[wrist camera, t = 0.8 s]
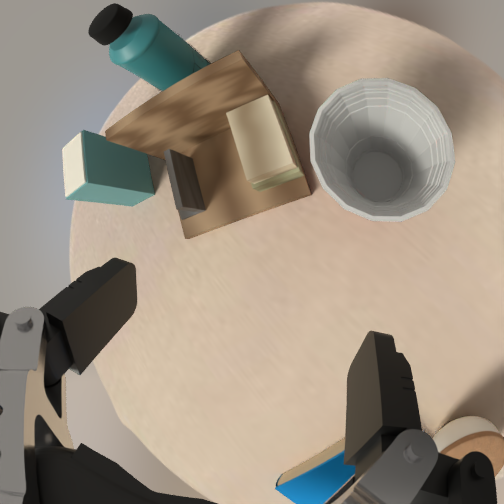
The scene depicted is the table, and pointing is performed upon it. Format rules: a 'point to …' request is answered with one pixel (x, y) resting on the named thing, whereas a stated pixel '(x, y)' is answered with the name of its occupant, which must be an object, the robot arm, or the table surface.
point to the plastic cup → (381, 149)
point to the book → (317, 477)
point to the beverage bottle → (145, 46)
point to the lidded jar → (471, 440)
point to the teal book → (105, 171)
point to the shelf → (218, 145)
